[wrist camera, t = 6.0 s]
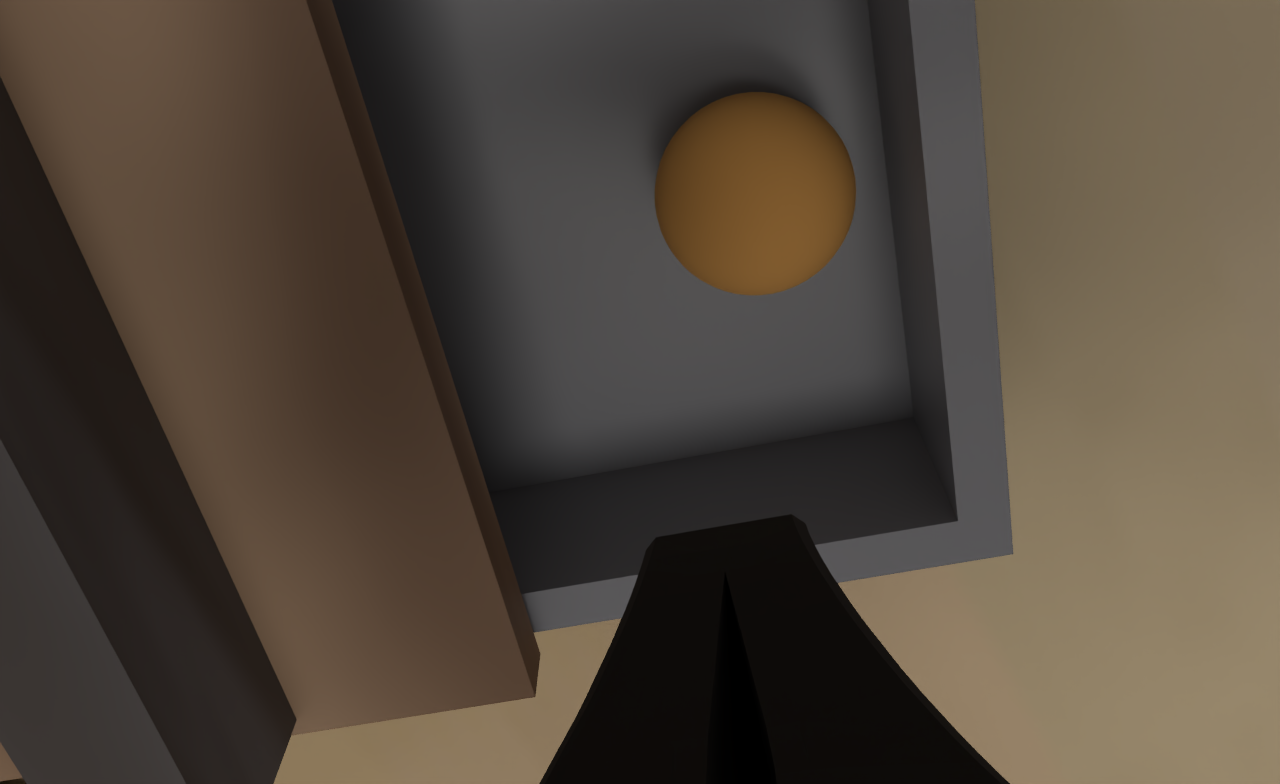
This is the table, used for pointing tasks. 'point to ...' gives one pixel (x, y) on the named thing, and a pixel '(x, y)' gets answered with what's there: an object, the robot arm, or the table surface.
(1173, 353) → the table surface
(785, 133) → the ball
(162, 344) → the lid
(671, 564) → the robot arm
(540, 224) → the storage box
